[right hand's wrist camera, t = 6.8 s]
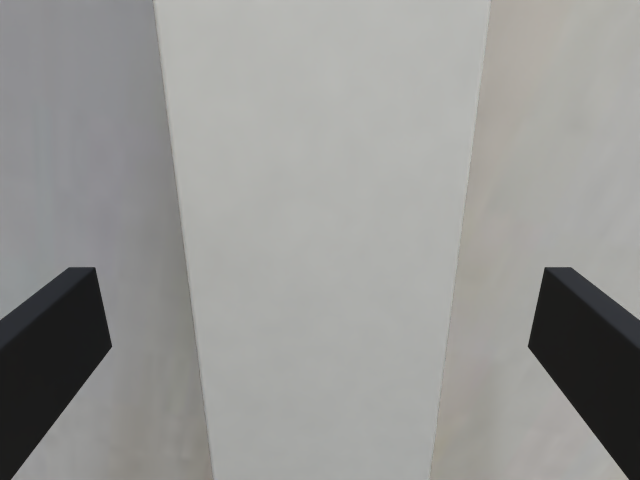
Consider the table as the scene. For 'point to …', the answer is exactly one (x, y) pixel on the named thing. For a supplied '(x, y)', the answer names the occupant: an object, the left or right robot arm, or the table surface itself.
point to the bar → (321, 222)
